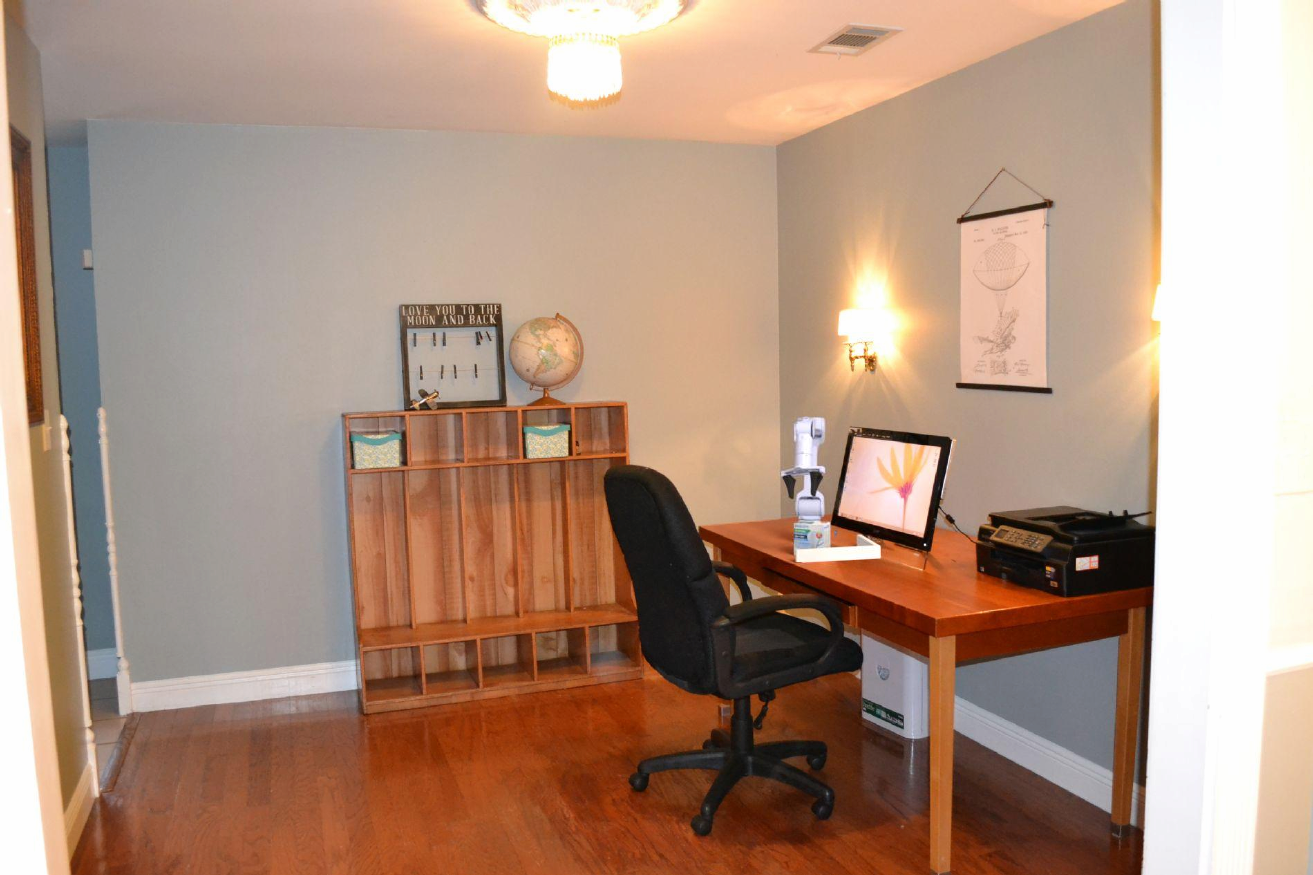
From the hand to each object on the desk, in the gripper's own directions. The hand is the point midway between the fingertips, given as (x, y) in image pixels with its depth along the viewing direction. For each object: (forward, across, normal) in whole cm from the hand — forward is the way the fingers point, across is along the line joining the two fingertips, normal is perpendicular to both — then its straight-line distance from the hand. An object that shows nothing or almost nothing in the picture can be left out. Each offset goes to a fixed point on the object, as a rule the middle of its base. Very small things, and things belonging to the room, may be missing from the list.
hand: (802, 496), depth 319 cm
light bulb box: (+14, -5, +18) cm, 24 cm away
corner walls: (+13, 0, +21) cm, 25 cm away
